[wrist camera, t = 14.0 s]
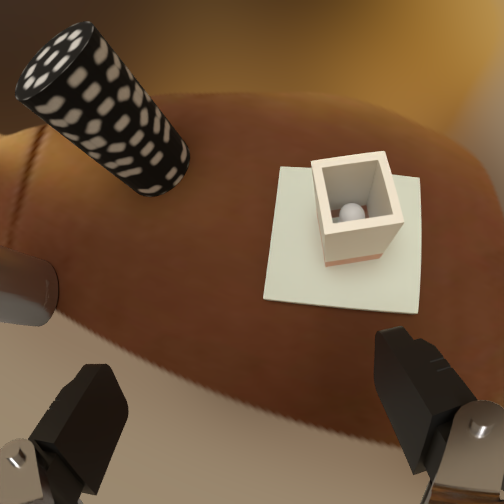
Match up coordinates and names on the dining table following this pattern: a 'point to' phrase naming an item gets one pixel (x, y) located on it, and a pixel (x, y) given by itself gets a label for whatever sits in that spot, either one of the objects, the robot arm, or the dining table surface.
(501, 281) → the dining table surface
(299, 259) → the pin board
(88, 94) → the spotted tube
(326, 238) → the sleeve
